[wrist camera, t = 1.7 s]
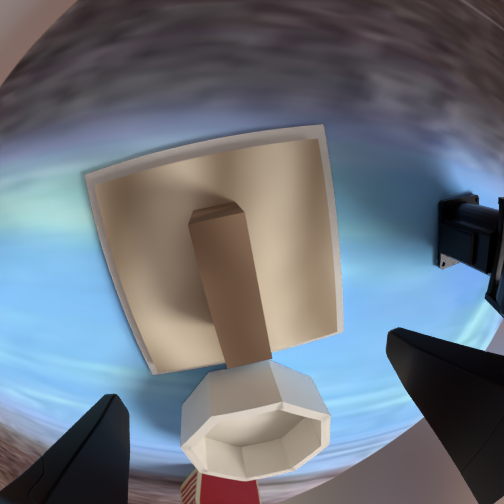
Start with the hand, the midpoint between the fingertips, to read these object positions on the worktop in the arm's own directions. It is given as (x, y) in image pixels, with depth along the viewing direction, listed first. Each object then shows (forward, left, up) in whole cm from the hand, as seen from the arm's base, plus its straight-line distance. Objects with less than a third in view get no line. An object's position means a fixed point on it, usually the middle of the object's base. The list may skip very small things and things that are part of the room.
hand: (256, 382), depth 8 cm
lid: (0, 0, -11) cm, 11 cm away
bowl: (+1, +15, -12) cm, 19 cm away
